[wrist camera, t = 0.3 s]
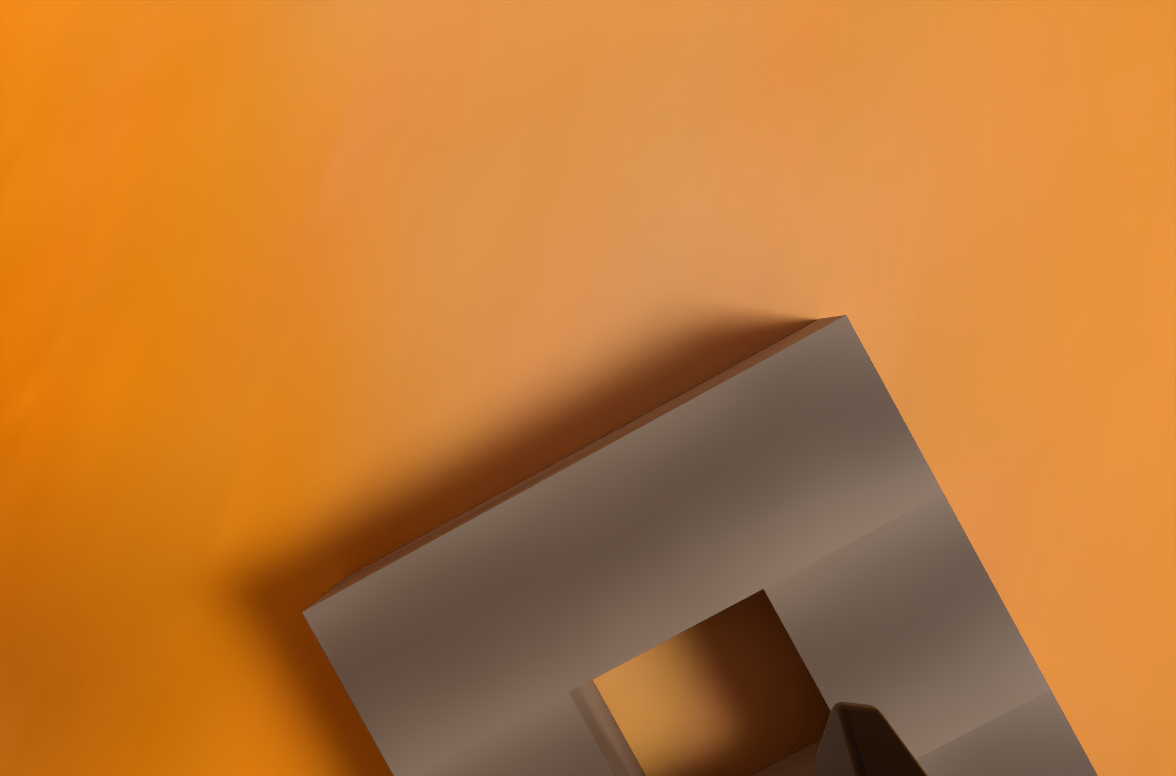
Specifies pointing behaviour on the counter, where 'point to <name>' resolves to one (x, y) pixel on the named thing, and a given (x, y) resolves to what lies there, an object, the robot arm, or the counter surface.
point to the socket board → (699, 586)
